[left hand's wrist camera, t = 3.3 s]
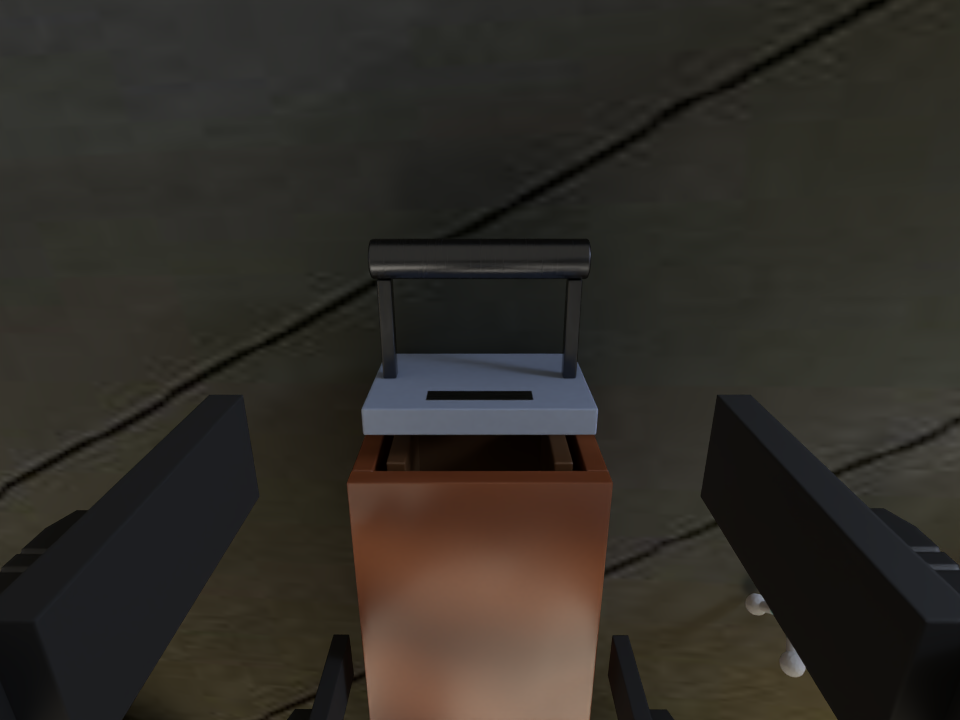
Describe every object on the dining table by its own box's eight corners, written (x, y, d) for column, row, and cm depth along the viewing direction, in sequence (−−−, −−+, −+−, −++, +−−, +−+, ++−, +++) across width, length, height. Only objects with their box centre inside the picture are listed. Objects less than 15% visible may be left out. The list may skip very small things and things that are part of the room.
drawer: (377, 228, 26) (347, 254, 21) (582, 228, 26) (611, 254, 21) (400, 589, 34) (383, 683, 28) (559, 589, 34) (576, 683, 28)
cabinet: (379, 396, 31) (346, 483, 23) (579, 396, 31) (613, 482, 23) (396, 628, 36) (373, 759, 29) (563, 628, 36) (586, 759, 29)
